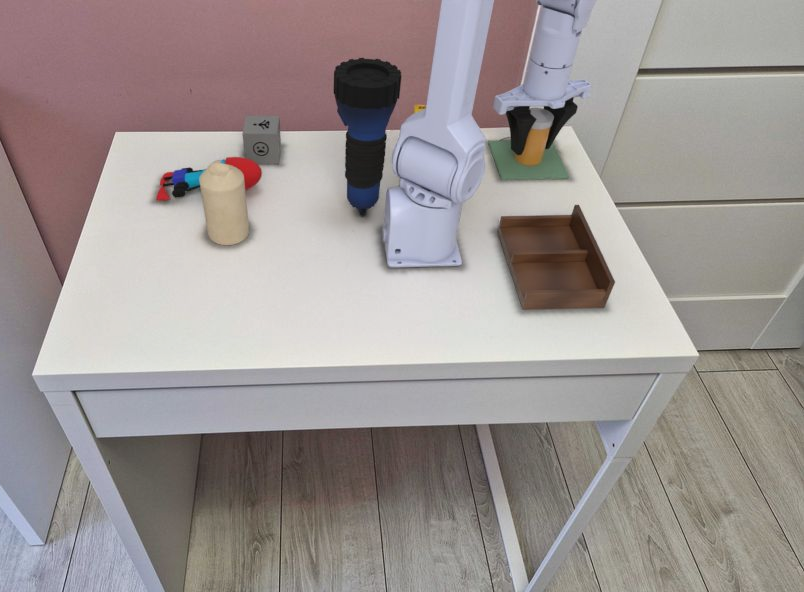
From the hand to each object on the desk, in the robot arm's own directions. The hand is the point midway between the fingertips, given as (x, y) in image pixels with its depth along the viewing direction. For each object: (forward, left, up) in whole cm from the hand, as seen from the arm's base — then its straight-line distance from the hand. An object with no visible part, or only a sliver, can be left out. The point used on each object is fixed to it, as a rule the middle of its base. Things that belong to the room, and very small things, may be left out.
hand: (530, 148), depth 103 cm
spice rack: (-3, -25, -2) cm, 25 cm away
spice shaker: (0, 0, -2) cm, 2 cm away
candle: (-44, -16, -2) cm, 47 cm away
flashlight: (-26, -12, -2) cm, 29 cm away
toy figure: (-47, -6, -2) cm, 47 cm away
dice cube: (-40, +3, -2) cm, 40 cm away
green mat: (0, 0, -2) cm, 2 cm away
